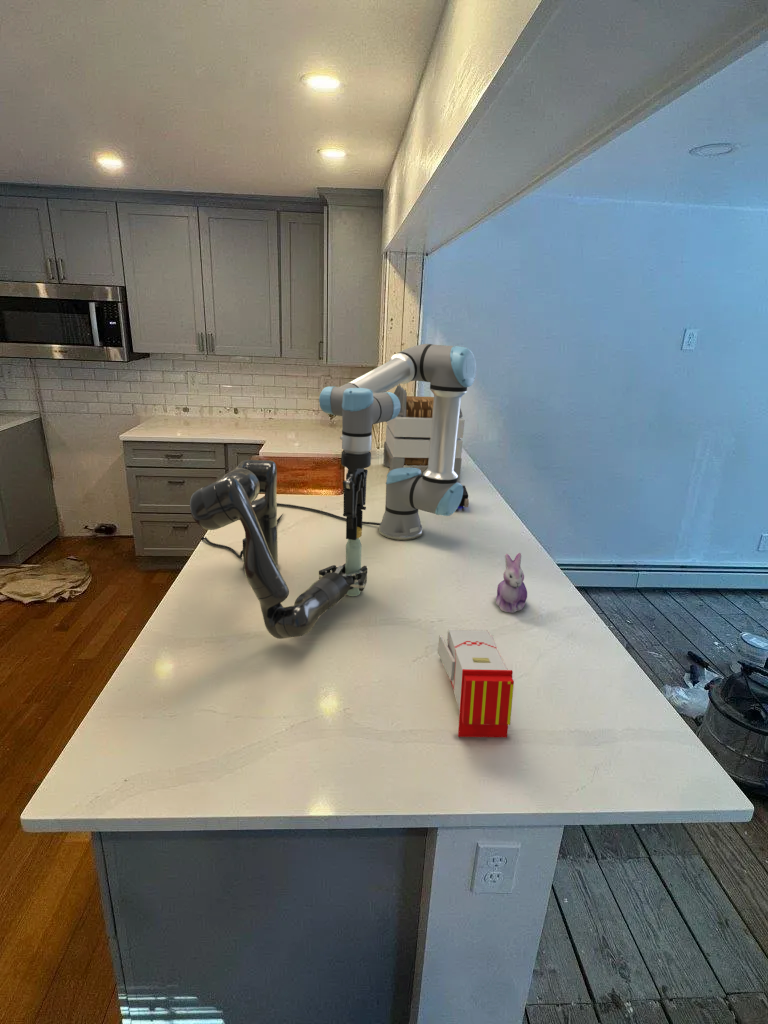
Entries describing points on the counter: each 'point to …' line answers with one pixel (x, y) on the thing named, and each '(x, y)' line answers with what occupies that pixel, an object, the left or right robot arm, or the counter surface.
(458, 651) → the toy
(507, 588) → the figurine
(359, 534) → the cap
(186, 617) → the counter surface
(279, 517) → the feather
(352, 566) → the bottle
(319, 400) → the right robot arm
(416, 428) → the transformer
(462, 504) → the figurine character
